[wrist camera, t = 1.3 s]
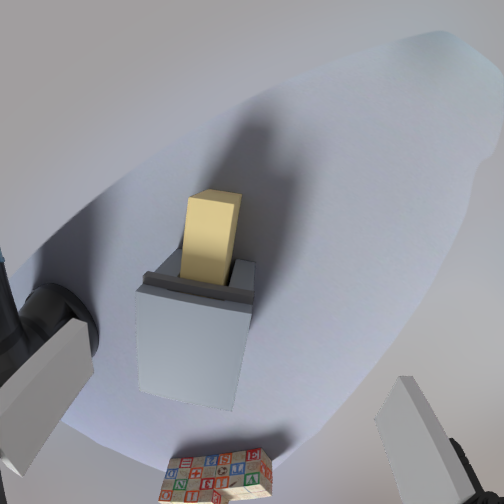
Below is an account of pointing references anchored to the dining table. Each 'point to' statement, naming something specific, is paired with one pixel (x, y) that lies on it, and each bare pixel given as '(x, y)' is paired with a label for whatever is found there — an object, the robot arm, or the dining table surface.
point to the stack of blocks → (217, 478)
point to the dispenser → (192, 334)
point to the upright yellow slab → (209, 237)
